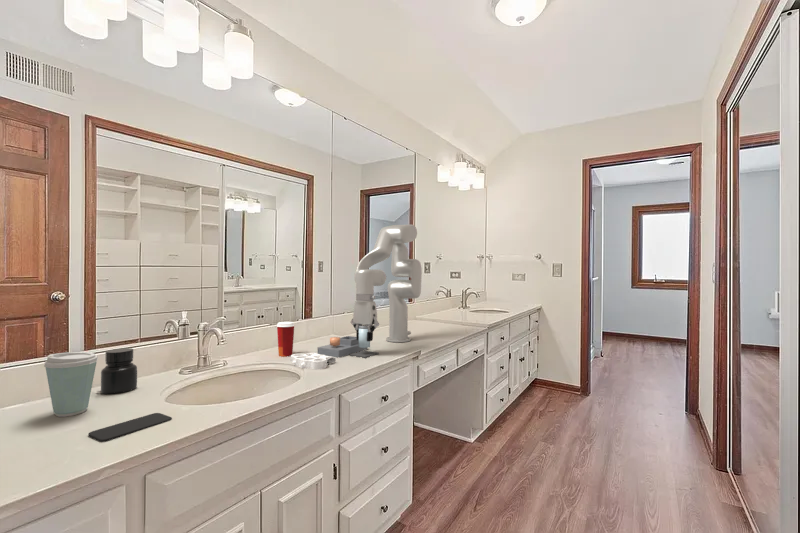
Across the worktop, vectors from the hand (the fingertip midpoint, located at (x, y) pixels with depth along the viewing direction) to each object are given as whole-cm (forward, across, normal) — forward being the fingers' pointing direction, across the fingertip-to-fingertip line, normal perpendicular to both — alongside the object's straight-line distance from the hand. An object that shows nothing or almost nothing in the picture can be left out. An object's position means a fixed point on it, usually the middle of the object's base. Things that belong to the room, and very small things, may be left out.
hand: (364, 339), depth 166 cm
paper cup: (+7, +28, +19) cm, 34 cm away
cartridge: (+3, 0, 0) cm, 3 cm away
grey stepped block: (+7, +12, 0) cm, 14 cm away
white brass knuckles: (+7, +8, +24) cm, 26 cm away
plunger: (+6, +12, +5) cm, 14 cm away
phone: (+8, -1, +90) cm, 90 cm away
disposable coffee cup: (+7, +22, +94) cm, 97 cm away
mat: (+7, 0, 0) cm, 7 cm away
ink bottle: (+7, +33, +79) cm, 86 cm away
